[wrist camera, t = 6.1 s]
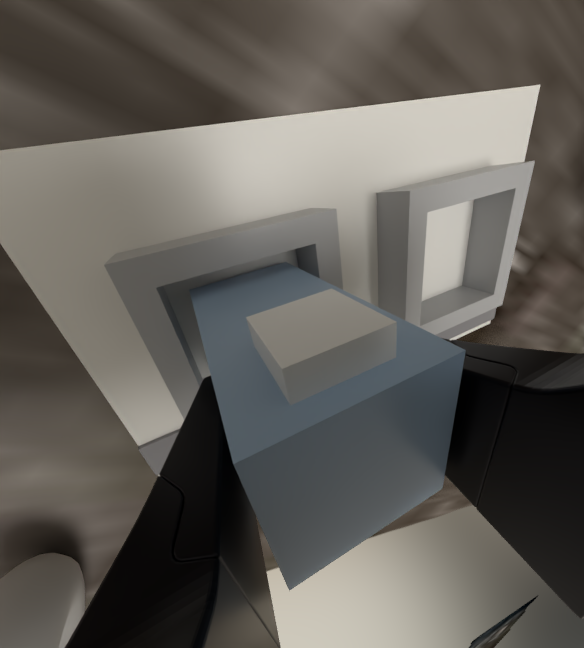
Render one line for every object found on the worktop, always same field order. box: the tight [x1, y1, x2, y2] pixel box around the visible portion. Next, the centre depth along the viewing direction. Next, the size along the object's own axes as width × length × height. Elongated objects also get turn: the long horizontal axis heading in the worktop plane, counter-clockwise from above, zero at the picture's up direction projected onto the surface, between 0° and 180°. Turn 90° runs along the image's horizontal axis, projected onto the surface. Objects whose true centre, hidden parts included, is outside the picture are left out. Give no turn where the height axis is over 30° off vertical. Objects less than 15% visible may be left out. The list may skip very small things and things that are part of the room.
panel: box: [0, 85, 540, 476], centre depth 13 cm, size 14×24×3 cm, turn 100°
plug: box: [189, 262, 466, 590], centre depth 8 cm, size 5×4×8 cm
